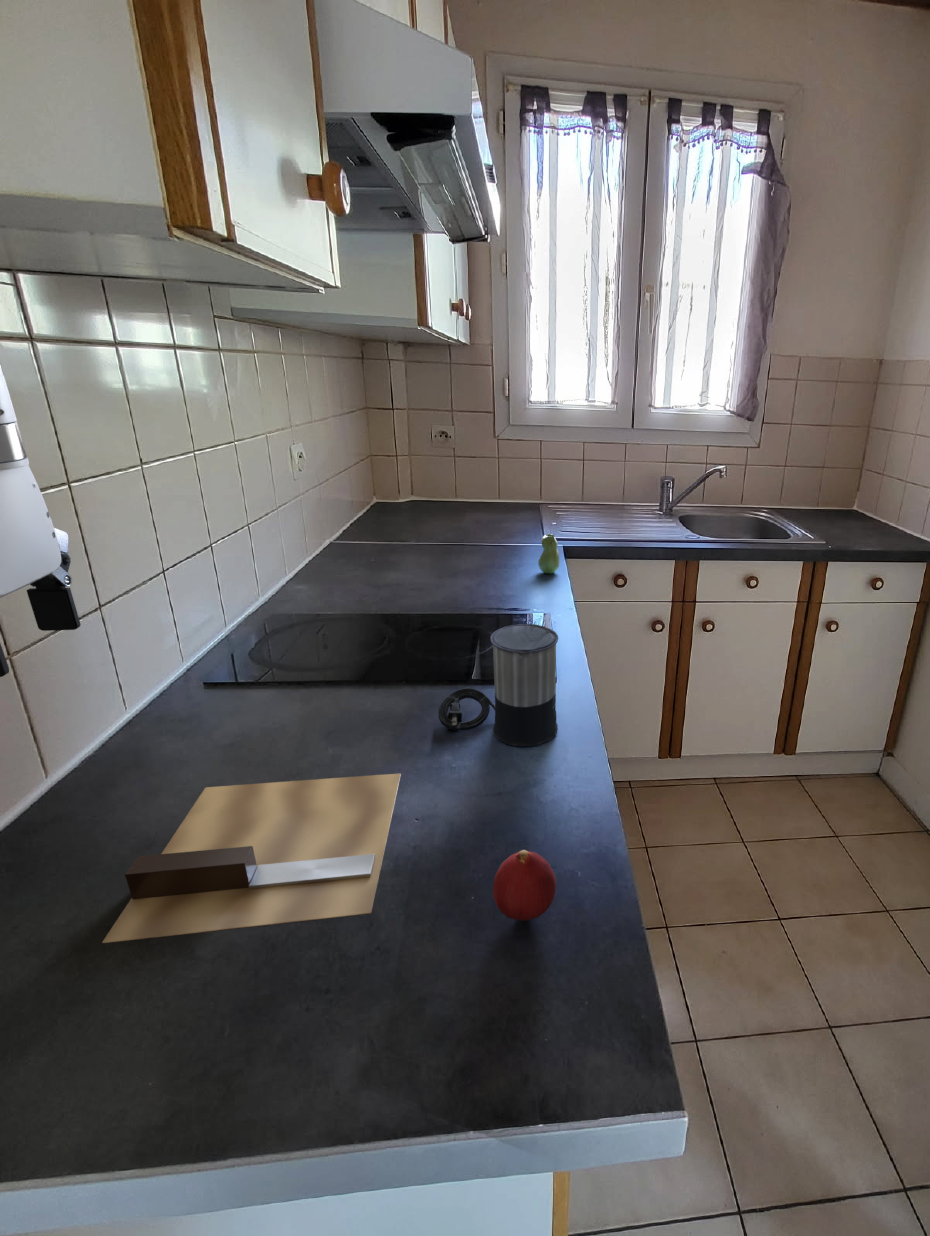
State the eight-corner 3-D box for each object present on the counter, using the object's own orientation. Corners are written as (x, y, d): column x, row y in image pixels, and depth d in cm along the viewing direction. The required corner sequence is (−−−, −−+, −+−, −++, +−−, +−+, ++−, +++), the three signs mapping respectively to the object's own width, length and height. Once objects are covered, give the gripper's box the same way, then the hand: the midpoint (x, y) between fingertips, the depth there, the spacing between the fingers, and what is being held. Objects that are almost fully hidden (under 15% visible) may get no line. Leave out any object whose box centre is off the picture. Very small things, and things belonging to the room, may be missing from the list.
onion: (511, 887, 64) (509, 822, 61) (564, 901, 63) (565, 836, 60) (483, 931, 59) (480, 863, 56) (541, 948, 58) (540, 879, 55)
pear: (558, 576, 159) (558, 537, 156) (537, 575, 159) (536, 536, 156) (559, 570, 165) (560, 532, 161) (539, 569, 164) (539, 531, 161)
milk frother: (567, 740, 90) (568, 644, 84) (454, 764, 83) (448, 662, 78) (535, 695, 102) (534, 608, 96) (434, 713, 95) (427, 621, 90)
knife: (131, 901, 59) (123, 876, 58) (145, 879, 61) (138, 854, 60) (370, 877, 63) (367, 853, 62) (375, 857, 65) (372, 833, 64)
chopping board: (105, 955, 55) (100, 943, 55) (207, 797, 75) (205, 787, 75) (372, 925, 59) (371, 913, 59) (402, 783, 79) (401, 772, 79)
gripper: (-17, 435, 56) (40, 615, 62) (-214, 463, 40) (-112, 701, 47) (80, 437, 58) (126, 613, 64) (-74, 465, 42) (7, 696, 48)
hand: (25, 650), depth 55 cm, fingers open, 9 cm apart
